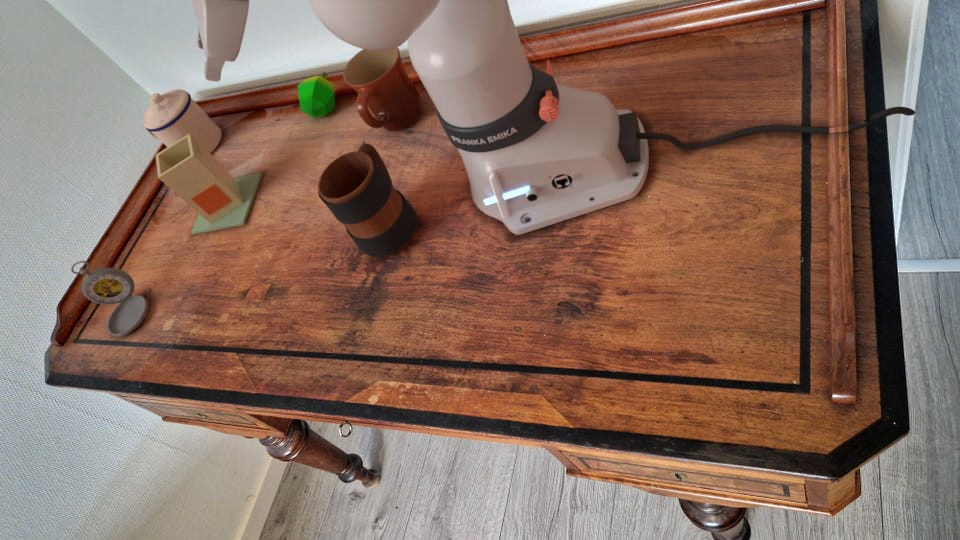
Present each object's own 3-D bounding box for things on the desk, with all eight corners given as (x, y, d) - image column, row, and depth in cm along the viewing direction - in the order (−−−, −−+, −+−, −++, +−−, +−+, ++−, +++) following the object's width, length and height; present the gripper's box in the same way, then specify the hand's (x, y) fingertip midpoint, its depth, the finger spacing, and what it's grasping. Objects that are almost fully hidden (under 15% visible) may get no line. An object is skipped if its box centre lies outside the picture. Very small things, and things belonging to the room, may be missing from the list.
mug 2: (428, 183, 88) (388, 121, 79) (415, 256, 81) (369, 197, 72) (373, 193, 91) (328, 134, 82) (355, 264, 84) (304, 209, 76)
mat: (262, 174, 103) (260, 172, 103) (244, 224, 98) (242, 222, 97) (212, 185, 107) (210, 183, 106) (192, 234, 101) (190, 233, 101)
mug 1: (386, 100, 102) (353, 47, 94) (436, 92, 99) (405, 36, 91) (364, 157, 96) (327, 107, 88) (416, 151, 93) (382, 98, 85)
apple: (296, 90, 99) (310, 50, 104) (286, 115, 104) (300, 77, 109) (340, 109, 102) (352, 70, 106) (329, 133, 107) (341, 95, 111)
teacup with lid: (231, 123, 116) (185, 72, 107) (212, 161, 111) (162, 111, 102) (181, 133, 120) (132, 85, 111) (160, 170, 116) (108, 123, 107)
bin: (243, 204, 100) (193, 155, 92) (210, 224, 100) (158, 178, 92) (237, 181, 104) (189, 133, 96) (206, 201, 104) (155, 154, 96)
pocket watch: (127, 344, 92) (67, 309, 85) (99, 325, 97) (41, 291, 90) (165, 297, 95) (111, 259, 88) (137, 281, 100) (83, 244, 92)
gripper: (184, -78, 84) (176, 25, 92) (199, -22, 71) (188, 94, 78) (236, -65, 87) (223, 34, 95) (260, -9, 74) (243, 102, 82)
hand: (208, 62), depth 87 cm, fingers open, 8 cm apart
